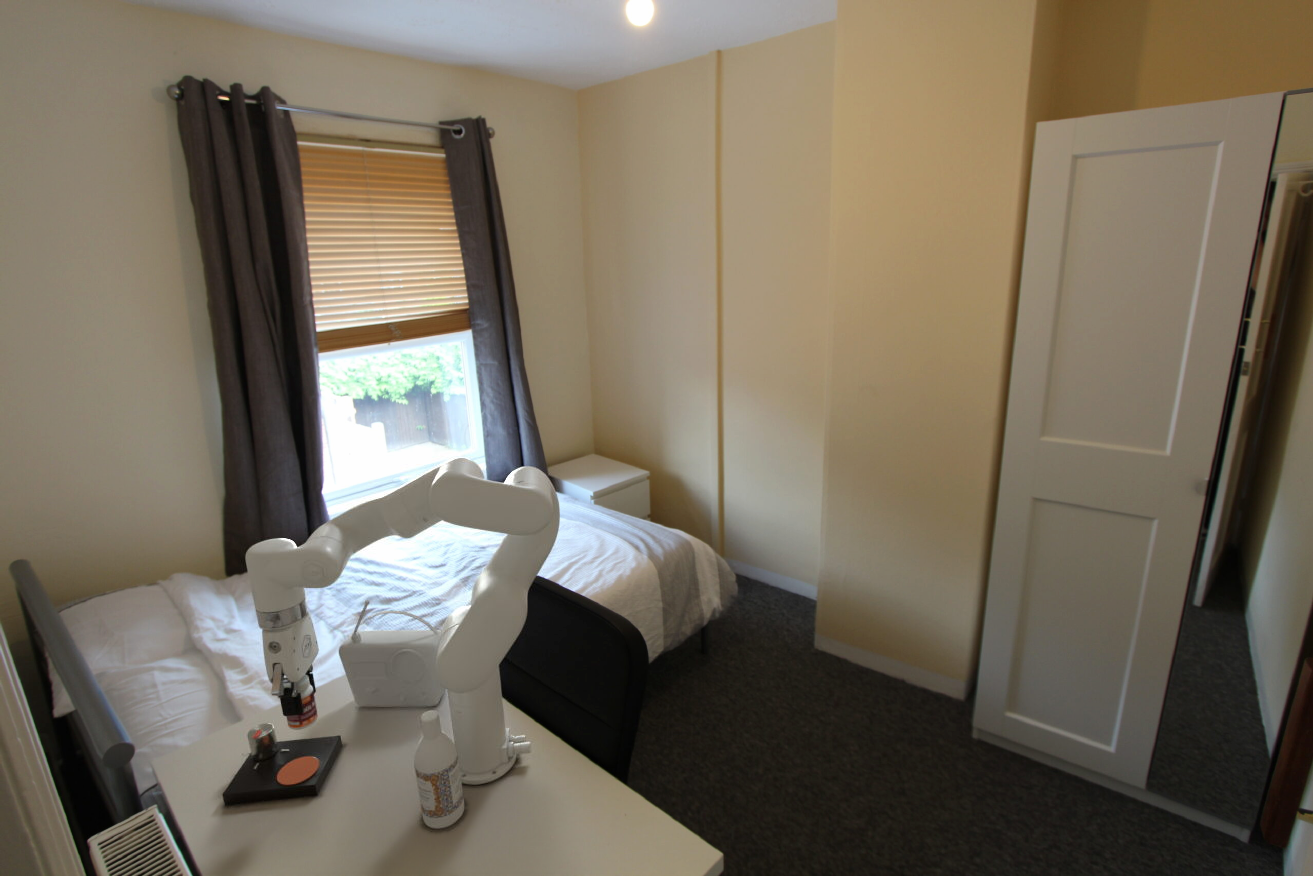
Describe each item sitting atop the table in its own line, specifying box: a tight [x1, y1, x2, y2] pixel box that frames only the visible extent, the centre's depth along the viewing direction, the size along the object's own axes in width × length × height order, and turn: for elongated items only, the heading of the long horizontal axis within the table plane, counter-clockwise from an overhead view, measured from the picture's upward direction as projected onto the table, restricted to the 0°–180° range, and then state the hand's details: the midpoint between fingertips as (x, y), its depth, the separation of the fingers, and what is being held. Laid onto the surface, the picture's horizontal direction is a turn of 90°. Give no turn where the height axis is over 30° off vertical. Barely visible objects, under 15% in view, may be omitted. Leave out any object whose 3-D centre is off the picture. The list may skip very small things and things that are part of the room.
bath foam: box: [413, 709, 465, 830], centre depth 112 cm, size 7×7×20 cm
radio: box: [338, 599, 447, 708], centre depth 142 cm, size 22×8×25 cm, turn 88°
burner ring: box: [277, 756, 319, 785], centre depth 123 cm, size 7×7×1 cm
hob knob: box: [246, 722, 278, 761], centre depth 127 cm, size 4×4×5 cm
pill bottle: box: [284, 675, 319, 731], centre depth 116 cm, size 5×5×8 cm
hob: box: [221, 735, 343, 807], centre depth 126 cm, size 17×14×3 cm
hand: (300, 703), depth 116 cm, fingers closed on pill bottle, 4 cm apart
